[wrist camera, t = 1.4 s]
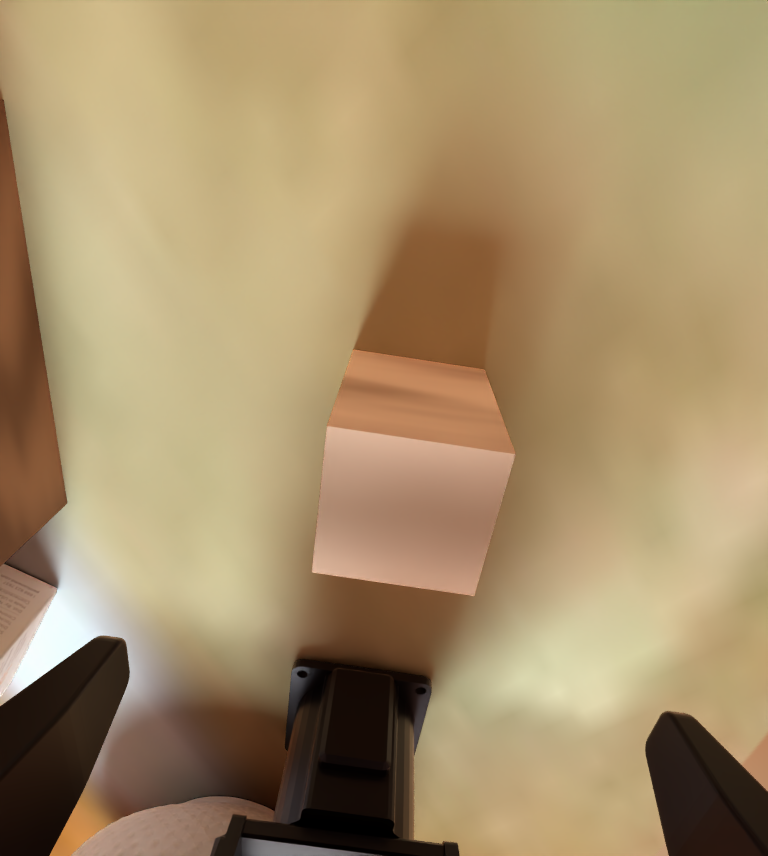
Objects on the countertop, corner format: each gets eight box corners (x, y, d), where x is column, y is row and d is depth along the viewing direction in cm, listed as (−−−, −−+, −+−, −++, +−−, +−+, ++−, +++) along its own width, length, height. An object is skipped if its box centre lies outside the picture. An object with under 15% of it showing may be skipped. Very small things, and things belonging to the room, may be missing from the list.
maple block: (457, 480, 20) (474, 595, 14) (339, 463, 20) (311, 572, 14) (484, 369, 18) (515, 454, 12) (353, 349, 18) (326, 425, 12)
